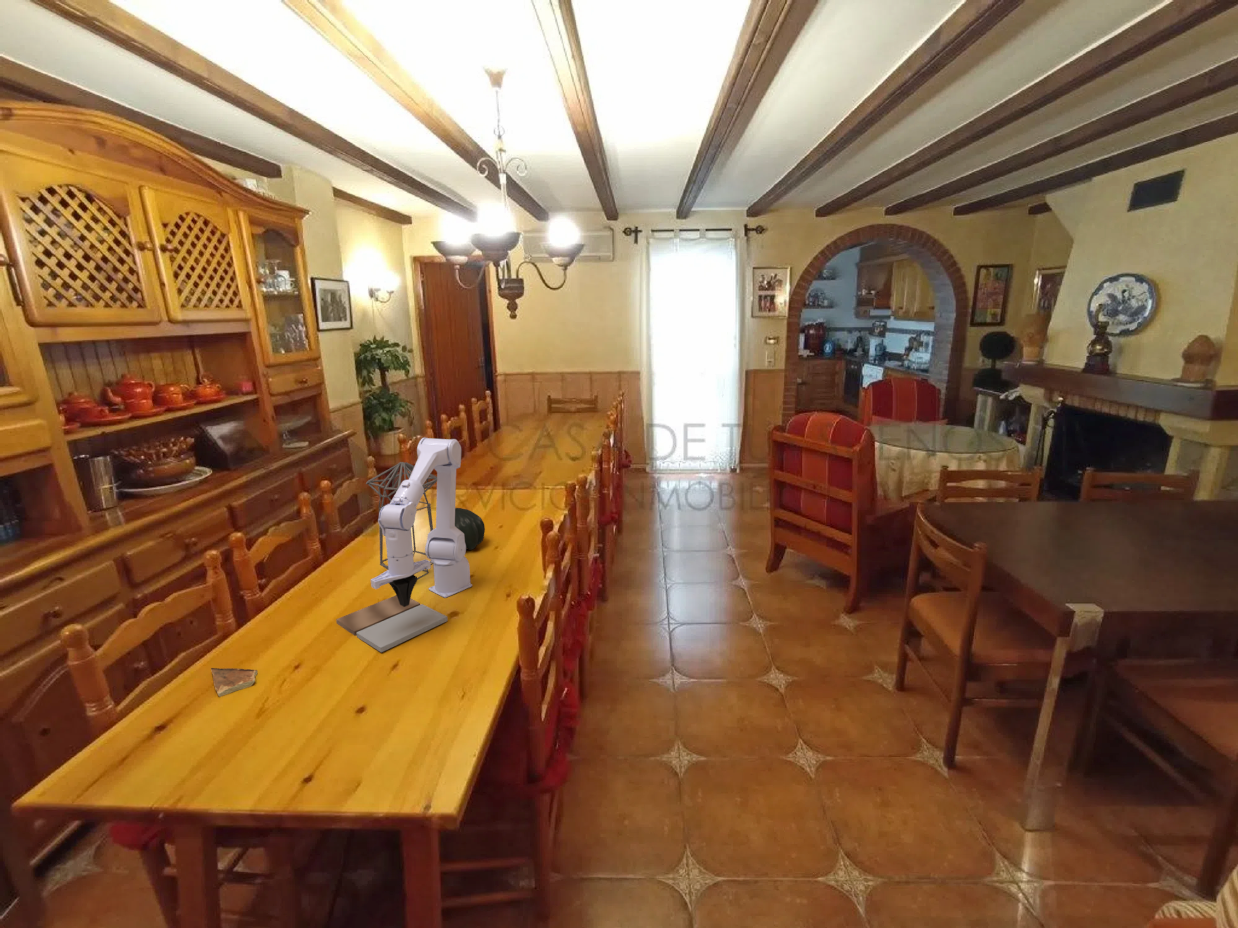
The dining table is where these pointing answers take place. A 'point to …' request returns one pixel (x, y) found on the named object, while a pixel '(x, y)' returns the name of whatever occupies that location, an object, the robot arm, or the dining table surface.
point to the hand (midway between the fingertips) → (404, 604)
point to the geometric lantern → (395, 468)
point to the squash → (469, 527)
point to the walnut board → (374, 614)
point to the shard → (232, 679)
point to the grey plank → (401, 627)
